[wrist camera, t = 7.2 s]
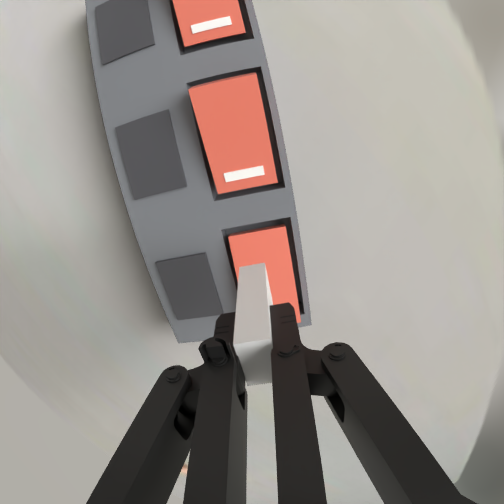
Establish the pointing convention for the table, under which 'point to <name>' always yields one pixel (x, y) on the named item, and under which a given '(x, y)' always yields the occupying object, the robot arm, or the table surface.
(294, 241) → the power strip
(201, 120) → the rocker
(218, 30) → the rocker
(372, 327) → the table surface
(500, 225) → the table surface
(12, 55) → the table surface
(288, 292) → the rocker
